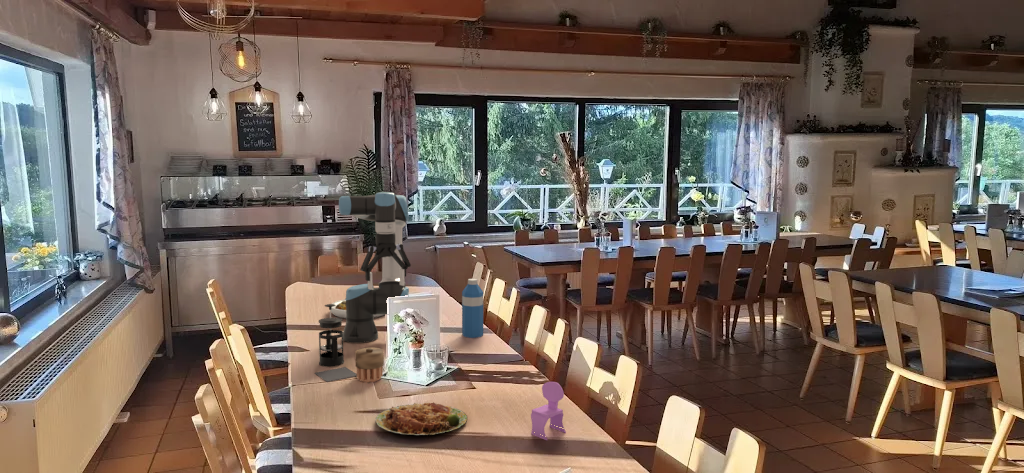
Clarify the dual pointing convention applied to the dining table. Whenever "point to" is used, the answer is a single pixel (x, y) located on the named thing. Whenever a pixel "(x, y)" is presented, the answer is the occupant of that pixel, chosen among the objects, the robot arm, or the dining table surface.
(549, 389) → the toy chair
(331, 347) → the french press
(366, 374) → the orange ridged cylinder
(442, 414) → the rice dish
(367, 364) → the tan squat cylinder
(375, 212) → the robot arm
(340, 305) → the bowl
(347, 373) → the mat
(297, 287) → the dining table surface
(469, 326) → the water bottle
